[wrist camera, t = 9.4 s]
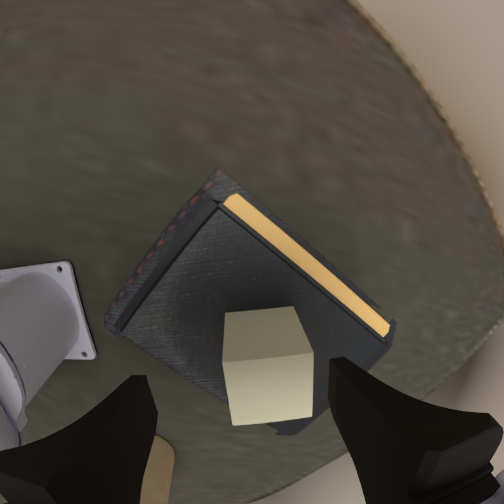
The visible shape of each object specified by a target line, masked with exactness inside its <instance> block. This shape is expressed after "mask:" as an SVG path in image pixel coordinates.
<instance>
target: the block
mask: <svg viewBox="0 0 504 504" xmlns="http://www.w3.org/2000/svg"><path fill="white" fill-rule="evenodd" d="M222 364H223V370H224V376H225V383H226V389H227V395H228V401H229V407H230V412H231V418H232V424H233V425H247V424H258V423H268V422H277V421H285V420H292V419H299V418H306V417H312V407H313V365H314V352H313V350H312V348H311V345H310V343H309V341H308V338H307V336H306V334H305V332H304V329H303V327H302V325H301V323H300V320H299V318H298V316H297V314H296V311H295V309H294V307H293V306H289V307H280V308H271V309H261V310H251V311H240V312H229V313H225V325H224V341H223V358H222Z"/></svg>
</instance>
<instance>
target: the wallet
mask: <svg viewBox="0 0 504 504" xmlns="http://www.w3.org/2000/svg"><path fill="white" fill-rule="evenodd" d="M366 303H368V304H371V305H374V306H376V307H379V308H381V307H380V306H378V305H377V304H376V303H375V302H374V301H373V300H371V299H370V298H369V297H368V296H367V295H366V294H365V293H364V292H363V291H362V290H361V289H359V288H358V287H357V286H356V285H355V284H354V283H353V282H352V281H351V280H349V279H348V278H347V277H346V276H345V275H344V274H343V273H342V272H341V271H339V270H338V269H337V268H336V267H335V266H334V265H333V264H332V263H330V262H329V261H328V260H327V259H326V258H325V257H324V256H322V255H321V254H320V253H319V252H318V251H317V250H316V249H314V248H313V247H312V246H311V245H310V244H309V243H308V242H306V241H305V240H304V239H303V238H302V237H301V236H299V235H298V234H297V233H296V232H295V231H294V230H292V229H291V228H290V227H289V226H288V225H287V224H285V223H284V222H283V221H282V220H281V219H280V218H278V217H277V216H276V215H275V214H274V213H272V212H271V211H270V210H269V209H268V208H266V207H265V206H264V205H263V204H262V203H261V202H259V201H258V200H257V199H256V198H255V197H253V196H252V195H251V194H250V193H248V192H247V191H246V190H245V189H244V188H242V187H241V186H240V185H239V184H238V183H236V182H235V181H234V180H233V179H231V178H230V177H229V176H228V175H227V174H225V173H224V172H223V171H222V170H220V169H219V168H218V167H217V169H216V170H215V171H214V172H213V173H212V175H211V176H210V177H209V178H208V180H207V181H206V182H205V183H204V185H203V186H202V187H201V188H200V189H199V190H198V191H197V192H196V193H195V194H194V195H193V196H192V197H191V198H190V199H189V200H188V202H187V203H186V204H185V205H184V206H183V207H182V208H181V210H180V211H179V212H178V213H177V215H176V216H175V217H174V218H173V220H172V221H171V222H170V223H169V225H168V226H167V227H166V228H165V230H164V231H163V232H162V234H161V235H160V236H159V238H158V239H157V240H156V242H155V243H154V244H153V245H152V247H151V248H150V249H149V251H148V252H147V253H146V255H145V256H144V258H143V259H142V260H141V262H140V263H139V264H138V266H137V267H136V269H135V270H134V271H133V273H132V274H131V276H130V277H129V278H128V280H127V281H126V283H125V284H124V285H123V287H122V288H121V290H120V291H119V293H118V294H117V295H116V297H115V299H114V300H113V302H112V303H111V305H110V307H109V308H108V310H107V312H106V313H105V321H104V327H106V328H107V329H108V330H109V331H110V332H112V333H113V334H114V335H115V336H116V337H118V338H119V339H120V340H121V341H123V339H124V336H126V337H127V338H129V339H130V340H131V341H133V342H134V343H135V344H137V345H138V346H140V347H141V348H142V349H144V350H145V351H147V352H148V353H149V354H151V355H152V356H154V357H155V358H157V359H158V360H159V361H161V362H162V363H164V364H165V365H167V366H168V367H170V368H171V369H173V370H174V371H176V372H177V373H179V374H180V375H182V376H183V377H185V378H187V379H188V380H190V381H191V382H193V383H195V384H196V385H198V386H199V387H201V388H203V389H204V390H206V391H208V392H209V393H211V394H213V395H214V396H216V397H218V398H219V399H221V400H223V401H225V402H226V403H228V404H229V401H228V395H227V389H226V383H225V376H224V370H223V364H222V358H223V341H224V325H225V313H229V312H240V311H251V310H261V309H271V308H280V307H289V306H293V307H294V309H295V311H296V314H297V316H298V318H299V320H300V323H301V325H302V327H303V329H304V332H305V334H306V336H307V338H308V341H309V343H310V345H311V348H312V350H313V352H314V365H313V407H312V417H306V418H299V419H292V420H285V421H277V422H268V423H265V424H267V425H269V426H271V427H273V428H275V429H277V430H279V431H278V432H277V433H276V435H290V436H291V435H296V434H297V433H299V432H300V431H301V430H303V429H304V428H305V427H307V426H308V425H309V424H311V423H312V422H313V421H314V420H315V419H316V418H318V417H319V416H320V415H321V414H322V413H323V412H324V411H326V410H327V409H328V408H329V407H330V405H329V401H328V380H329V359H332V358H338V357H343V356H344V357H346V358H347V359H349V360H350V361H352V362H353V363H354V364H356V365H357V366H359V367H360V368H362V369H363V370H364V371H366V372H368V371H369V370H370V369H371V368H372V367H373V366H374V365H375V364H376V363H377V362H378V361H379V360H380V358H381V357H382V356H383V355H384V354H385V353H386V352H387V351H388V350H389V349H390V348H391V347H392V342H393V338H394V333H395V328H396V324H397V322H396V321H395V320H394V319H392V320H391V321H390V322H389V324H388V323H387V322H386V321H385V320H384V319H383V318H382V317H381V316H380V315H379V314H377V313H376V312H375V311H374V310H373V309H372V308H371V307H370V306H369V305H367V304H366Z"/></svg>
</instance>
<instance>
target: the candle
mask: <svg viewBox="0 0 504 504" xmlns="http://www.w3.org/2000/svg"><path fill="white" fill-rule="evenodd" d="M174 458H175V454H174V450H173V448H172V446H171V445H170V444H169V443H168V442H167V441H166V440H164V439H163V438H161V437H159V436H157V435H155V437H154V441H153V444H152V448H151V451H150V455H149V459H148V462H147V466H146V469H145V473H144V477H143V482H142V489H141V498H140V504H167V503H168V496H169V490H170V483H171V477H172V471H173V465H174Z"/></svg>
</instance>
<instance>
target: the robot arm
mask: <svg viewBox="0 0 504 504" xmlns="http://www.w3.org/2000/svg"><path fill="white" fill-rule="evenodd" d="M59 266H61V267H62V271H61V270H60V269H59ZM84 352H85V353H86V354H87V355H86V354H84ZM96 355H97V354H96V350H95V347H94V344H93V341H92V338H91V335H90V332H89V328H88V325H87V322H86V318H85V315H84V311H83V308H82V304H81V300H80V297H79V293H78V289H77V285H76V281H75V276H74V272H73V268H72V265H71V263H70V262H68V261H61V262H53V263H46V264H38V265H31V266H24V267H16V268H9V269H2V270H0V494H1V495H2V496H3V497H4V498H5V499H6V500H7V501H8V502H9V503H10V504H140V498H141V489H142V482H143V477H144V473H145V469H146V466H147V462H148V459H149V455H150V451H151V448H152V444H153V441H154V437H155V433H156V426H157V417H158V412H157V409H156V406H155V403H154V400H153V397H152V394H151V391H150V387H149V384H148V381H147V378H146V375H132V376H130V377H129V378H128V379H127V380H126V381H124V382H123V383H122V384H121V385H120V386H119V387H118V388H117V389H115V390H114V391H113V392H112V393H111V394H110V395H109V396H108V397H106V398H105V399H104V400H103V401H102V402H101V403H99V404H98V405H97V406H96V407H94V408H93V409H92V410H90V411H89V412H88V413H87V414H85V415H84V416H83V417H81V418H80V419H78V420H77V421H75V422H74V423H72V424H70V425H69V426H67V427H65V428H63V429H62V430H60V431H57V432H55V433H53V434H51V435H49V436H47V437H45V438H43V439H40V440H38V441H35V442H32V443H29V444H26V442H25V440H24V437H23V436H22V434H21V433H20V432H21V430H22V429H23V427H24V426H25V425H26V423H27V422H28V419H27V417H26V415H25V412H24V409H25V407H26V406H27V405H28V404H29V402H30V401H31V400H32V398H33V397H34V396H35V394H36V393H37V392H38V391H39V389H40V388H41V387H42V386H43V384H44V383H45V382H46V381H47V379H48V378H49V377H50V376H51V374H52V373H53V372H54V371H55V369H56V368H57V367H58V366H59V364H60V363H61V362H62V361H63V360H64V359H81V360H92V359H94V358H95V357H96ZM328 401H329V405H330V408H331V412H332V415H333V418H334V420H335V423H336V425H337V427H338V429H339V431H340V434H341V436H342V438H343V440H344V442H345V444H346V446H347V449H348V451H349V453H350V455H351V457H352V459H353V462H354V465H355V467H356V470H357V474H358V477H359V480H360V483H361V487H362V490H363V494H364V497H365V501H366V504H504V470H503V471H501V472H500V473H499V474H498V475H497V476H496V477H494V476H493V475H492V474H491V472H492V471H493V469H494V468H493V466H492V465H491V463H490V460H491V458H492V457H493V455H494V453H495V452H496V450H497V448H498V446H499V444H500V442H501V440H502V436H503V428H502V427H501V426H500V425H499V423H497V421H496V420H495V419H494V418H493V417H492V416H491V415H490V414H489V413H477V412H465V411H459V410H453V409H448V408H444V407H440V406H436V405H433V404H430V403H426V402H423V401H421V400H418V399H415V398H413V397H411V396H408V395H406V394H404V393H402V392H399V391H397V390H396V389H394V388H392V387H390V386H388V385H386V384H385V383H383V382H381V381H380V380H378V379H377V378H375V377H373V376H372V375H370V374H369V373H367V372H366V371H364V370H363V369H362V368H360V367H359V366H357V365H356V364H354V363H353V362H352V361H350V360H349V359H347V358H346V357H344V356H343V357H338V358H332V359H329V380H328Z"/></svg>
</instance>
